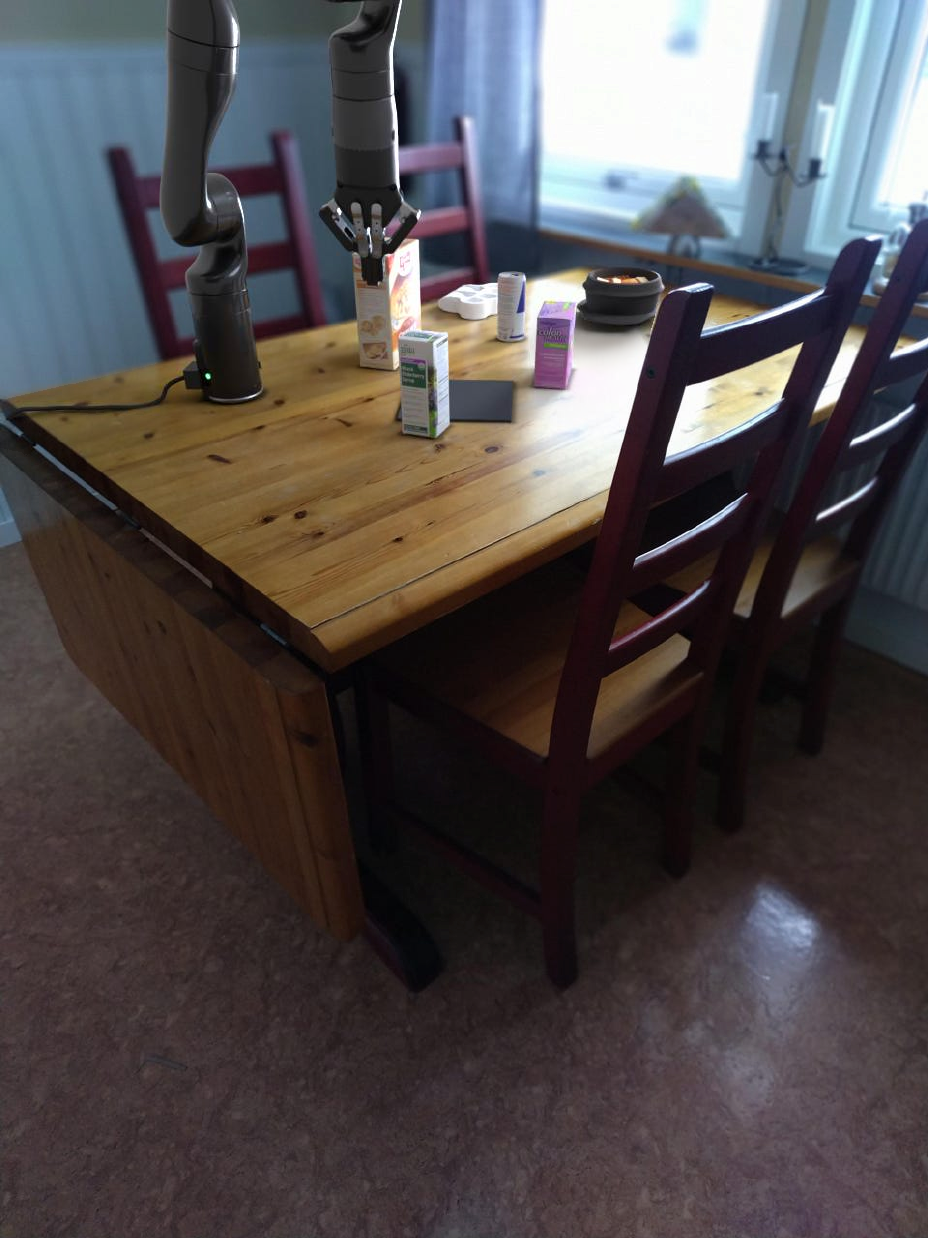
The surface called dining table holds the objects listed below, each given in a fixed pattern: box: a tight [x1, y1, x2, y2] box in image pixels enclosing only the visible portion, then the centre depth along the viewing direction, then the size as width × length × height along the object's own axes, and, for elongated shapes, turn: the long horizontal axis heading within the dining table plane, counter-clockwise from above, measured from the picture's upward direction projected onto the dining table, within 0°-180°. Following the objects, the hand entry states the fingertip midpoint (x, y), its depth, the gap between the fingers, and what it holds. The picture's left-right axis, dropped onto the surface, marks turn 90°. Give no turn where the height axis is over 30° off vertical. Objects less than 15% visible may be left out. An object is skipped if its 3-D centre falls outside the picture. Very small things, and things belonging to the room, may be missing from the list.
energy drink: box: [496, 271, 527, 343], centre depth 165 cm, size 5×5×12 cm
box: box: [533, 300, 578, 390], centre depth 146 cm, size 10×6×12 cm, turn 168°
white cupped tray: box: [437, 282, 498, 321], centre depth 186 cm, size 3×18×15 cm
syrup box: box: [398, 329, 450, 439], centre depth 126 cm, size 6×6×14 cm
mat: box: [396, 379, 514, 423], centre depth 140 cm, size 18×18×1 cm
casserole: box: [576, 266, 666, 326], centre depth 177 cm, size 25×19×8 cm
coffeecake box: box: [351, 236, 422, 371], centre depth 154 cm, size 15×7×20 cm, turn 162°
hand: (373, 283), depth 111 cm, fingers closed
